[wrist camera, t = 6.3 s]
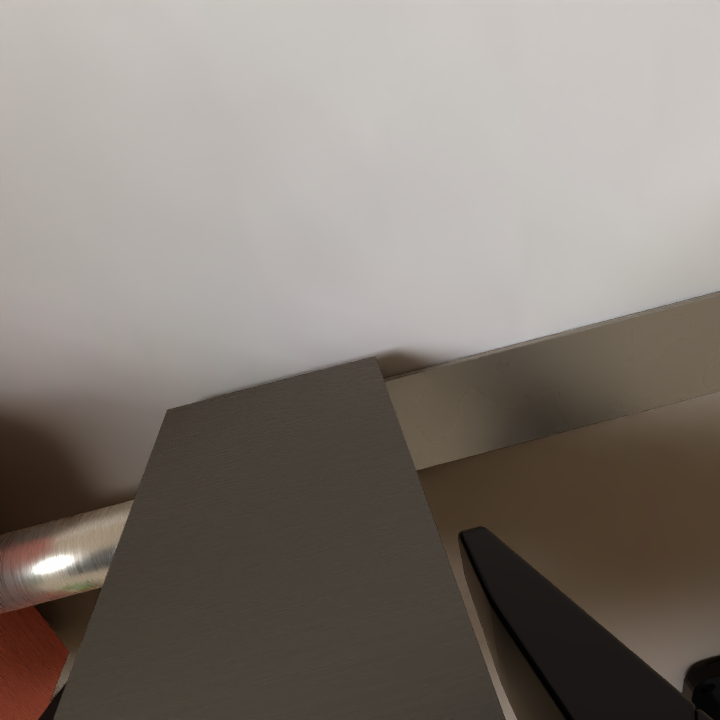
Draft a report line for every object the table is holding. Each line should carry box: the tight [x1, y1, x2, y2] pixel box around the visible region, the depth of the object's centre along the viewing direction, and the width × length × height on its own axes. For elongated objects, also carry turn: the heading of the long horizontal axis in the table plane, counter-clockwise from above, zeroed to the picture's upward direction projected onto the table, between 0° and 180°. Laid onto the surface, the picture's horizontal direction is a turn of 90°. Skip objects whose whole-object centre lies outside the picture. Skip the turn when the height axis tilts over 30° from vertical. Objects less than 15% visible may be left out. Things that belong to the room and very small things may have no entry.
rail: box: [383, 292, 720, 470], centre depth 11 cm, size 12×2×1 cm, turn 102°
